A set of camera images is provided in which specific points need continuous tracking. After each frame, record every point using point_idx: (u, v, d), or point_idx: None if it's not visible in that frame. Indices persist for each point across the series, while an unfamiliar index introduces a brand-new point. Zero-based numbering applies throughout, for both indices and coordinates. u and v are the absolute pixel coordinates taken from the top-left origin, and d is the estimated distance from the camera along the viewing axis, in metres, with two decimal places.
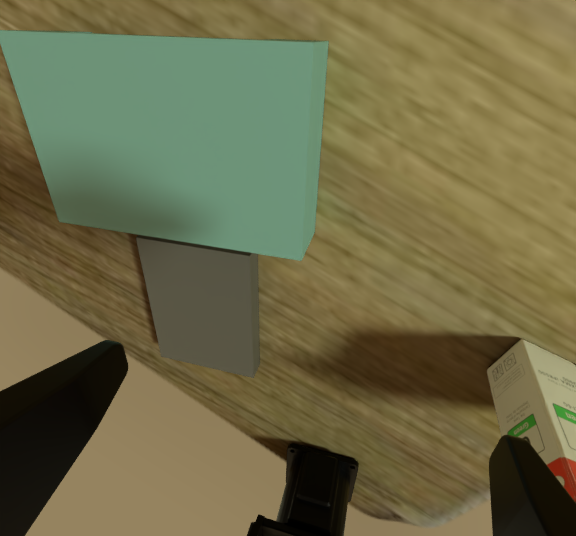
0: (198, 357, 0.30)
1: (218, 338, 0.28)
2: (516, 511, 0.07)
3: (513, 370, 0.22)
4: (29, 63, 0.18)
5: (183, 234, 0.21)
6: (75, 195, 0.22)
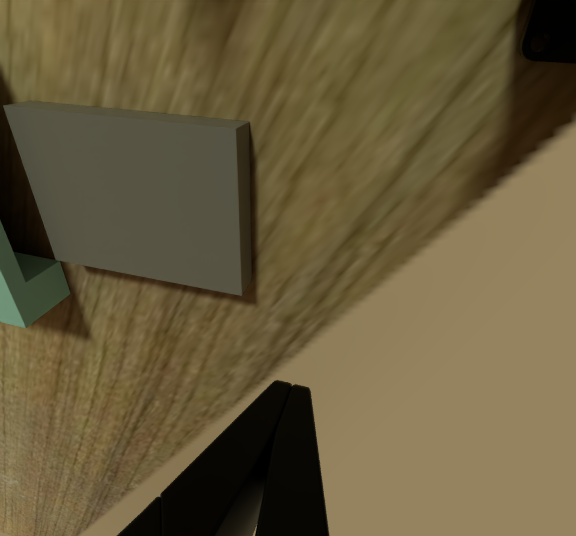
0: (221, 231, 0.17)
1: (165, 184, 0.17)
2: None
3: None
4: None
5: None
6: None
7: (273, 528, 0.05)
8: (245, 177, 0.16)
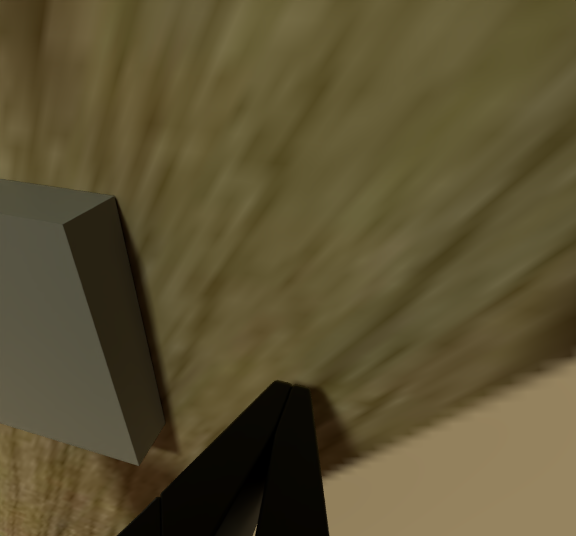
0: (84, 381, 0.10)
1: None
2: None
3: None
4: None
5: None
6: None
7: (273, 528, 0.05)
8: (118, 293, 0.09)
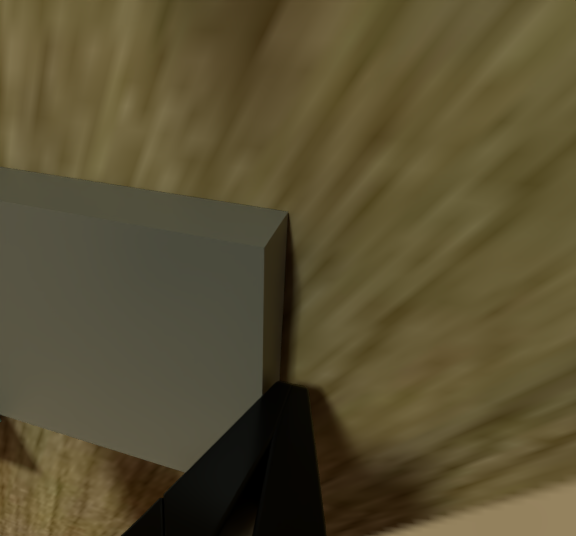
0: (225, 410, 0.09)
1: (114, 327, 0.08)
2: None
3: None
4: None
5: None
6: None
7: (270, 527, 0.05)
8: (276, 317, 0.08)
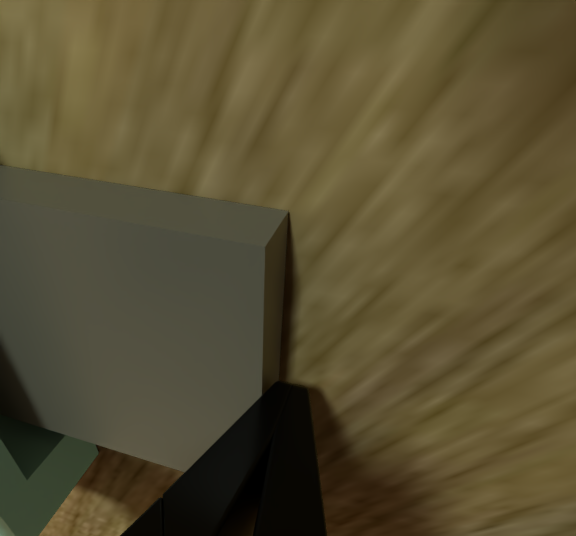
0: (225, 410, 0.09)
1: (114, 326, 0.08)
2: None
3: None
4: None
5: None
6: None
7: (271, 527, 0.05)
8: (276, 316, 0.08)
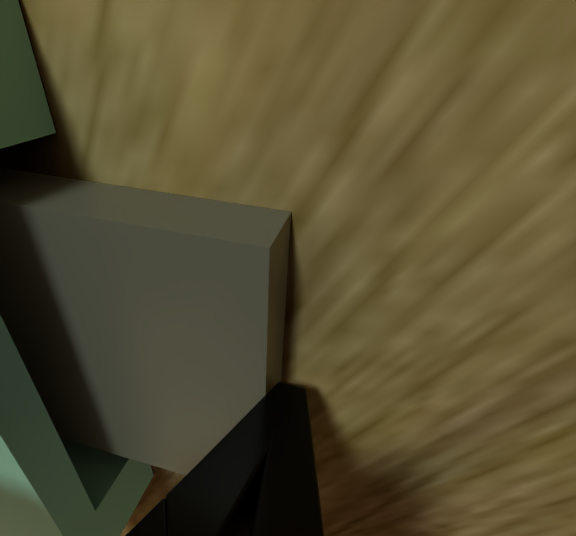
0: (228, 412, 0.09)
1: (115, 329, 0.08)
2: None
3: None
4: None
5: None
6: None
7: (268, 526, 0.05)
8: (279, 317, 0.08)
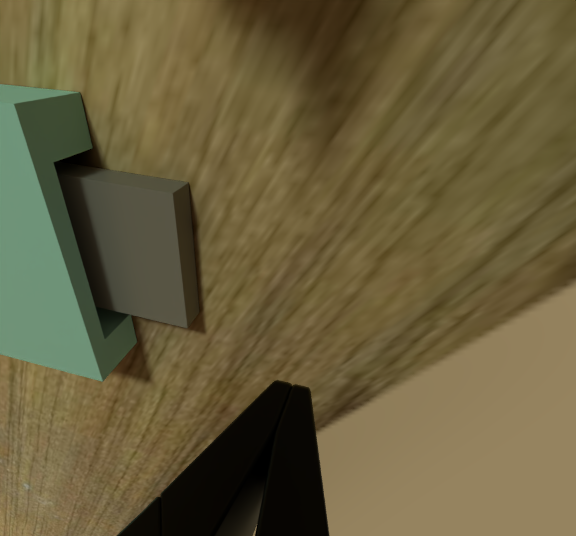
0: (166, 274, 0.19)
1: (116, 233, 0.19)
2: None
3: None
4: None
5: (55, 258, 0.18)
6: (66, 352, 0.22)
7: (273, 528, 0.05)
8: (186, 229, 0.19)
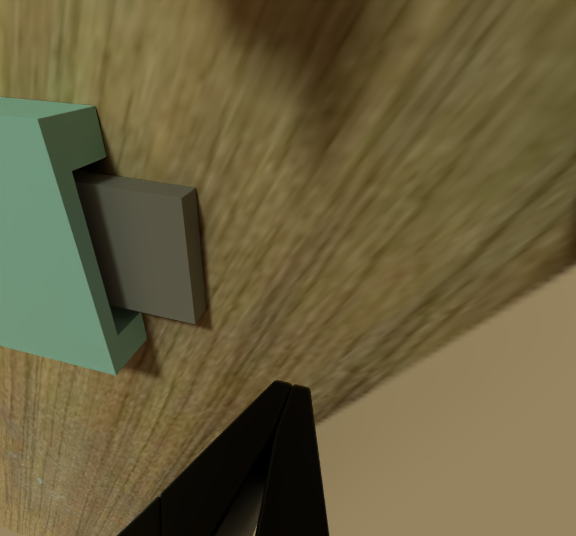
0: (175, 273, 0.21)
1: (128, 236, 0.20)
2: None
3: None
4: None
5: (72, 259, 0.19)
6: (82, 348, 0.23)
7: (273, 528, 0.05)
8: (193, 231, 0.20)
